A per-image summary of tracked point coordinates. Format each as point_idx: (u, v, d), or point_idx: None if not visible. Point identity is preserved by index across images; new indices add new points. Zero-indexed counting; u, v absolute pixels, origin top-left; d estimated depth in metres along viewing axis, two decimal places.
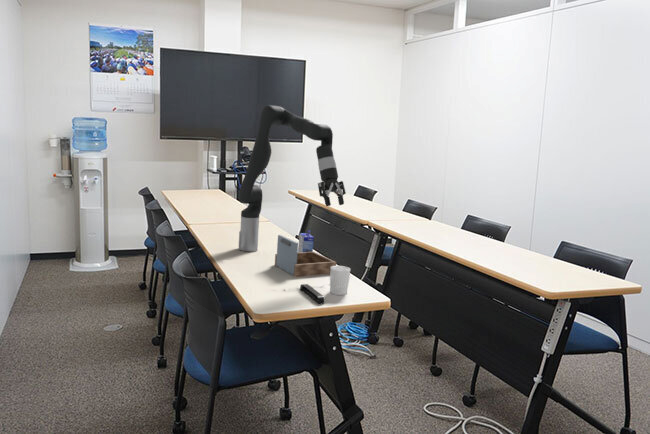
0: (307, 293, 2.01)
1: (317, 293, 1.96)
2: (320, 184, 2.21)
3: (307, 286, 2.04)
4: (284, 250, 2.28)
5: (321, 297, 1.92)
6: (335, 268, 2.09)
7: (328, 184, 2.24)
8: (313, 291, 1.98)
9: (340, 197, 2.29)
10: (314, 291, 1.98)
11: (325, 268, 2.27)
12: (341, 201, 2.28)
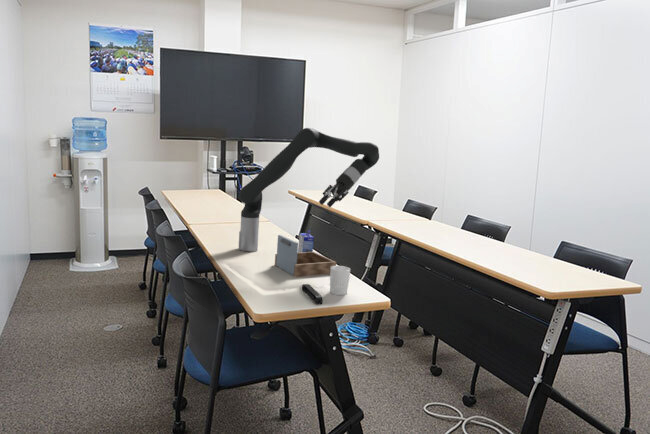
0: (307, 293, 2.01)
1: (316, 293, 1.95)
2: (346, 192, 2.30)
3: (308, 286, 2.04)
4: (284, 250, 2.28)
5: (319, 297, 1.92)
6: (335, 268, 2.09)
7: None
8: (313, 291, 1.98)
9: (325, 199, 2.37)
10: (314, 291, 1.98)
11: (325, 268, 2.27)
12: (323, 202, 2.36)
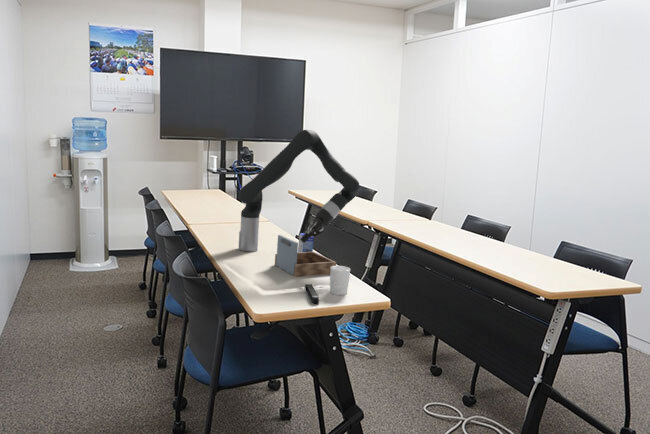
0: (307, 293, 2.01)
1: (314, 293, 1.95)
2: (321, 231, 2.28)
3: (310, 286, 2.04)
4: (284, 250, 2.28)
5: (316, 297, 1.91)
6: (335, 268, 2.09)
7: None
8: (312, 291, 1.98)
9: None
10: (313, 291, 1.98)
11: (325, 268, 2.27)
12: None
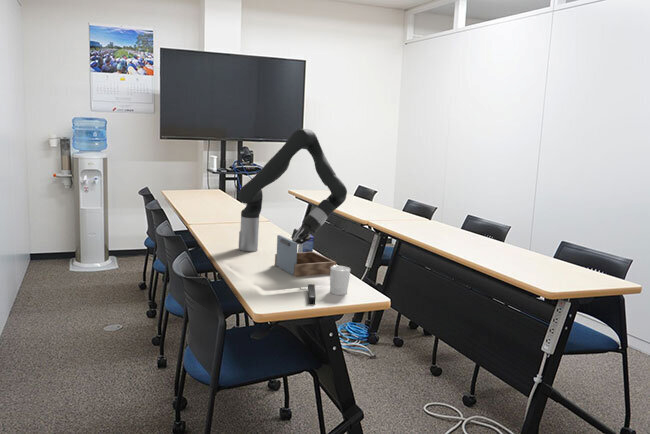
0: (308, 293, 2.01)
1: (312, 293, 1.95)
2: (308, 238, 2.25)
3: (311, 286, 2.04)
4: (284, 250, 2.28)
5: (312, 297, 1.91)
6: (335, 268, 2.09)
7: None
8: (311, 291, 1.98)
9: None
10: (312, 291, 1.97)
11: (325, 268, 2.27)
12: None
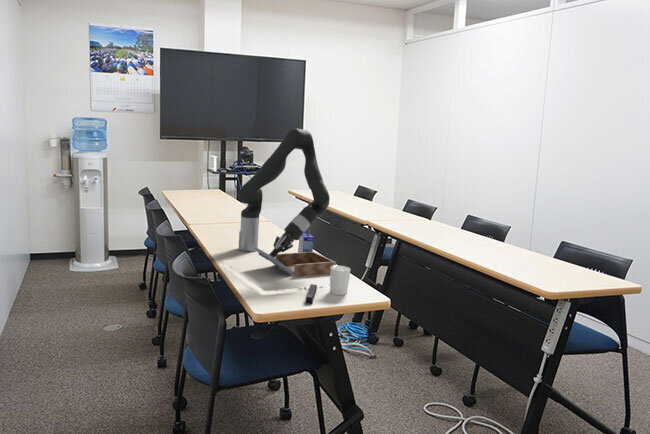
0: None
1: (311, 293, 1.95)
2: (289, 246, 2.21)
3: (313, 286, 2.04)
4: (269, 259, 2.25)
5: (309, 297, 1.91)
6: (335, 268, 2.09)
7: None
8: (310, 291, 1.98)
9: None
10: (311, 291, 1.97)
11: (325, 268, 2.27)
12: None
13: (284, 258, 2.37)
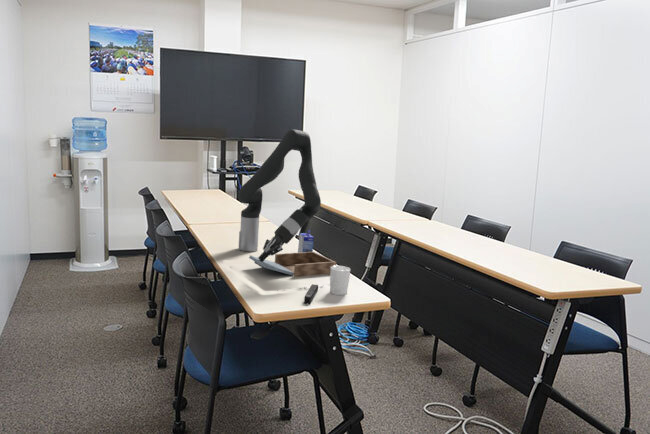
0: None
1: (310, 293, 1.95)
2: (279, 249, 2.18)
3: (313, 286, 2.04)
4: None
5: (308, 297, 1.91)
6: (335, 268, 2.09)
7: None
8: (310, 291, 1.98)
9: None
10: (310, 291, 1.97)
11: (325, 268, 2.27)
12: None
13: (284, 258, 2.37)
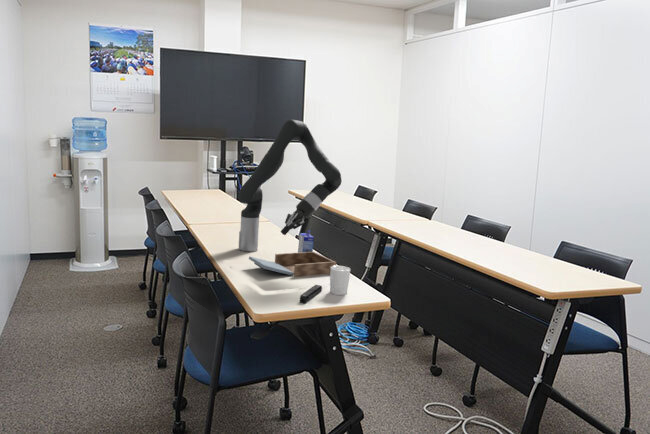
0: None
1: (307, 293, 1.95)
2: (301, 223, 2.22)
3: (316, 286, 2.04)
4: None
5: (303, 296, 1.92)
6: (335, 268, 2.09)
7: None
8: (308, 291, 1.98)
9: None
10: (309, 291, 1.97)
11: (325, 268, 2.27)
12: None
13: (284, 258, 2.37)
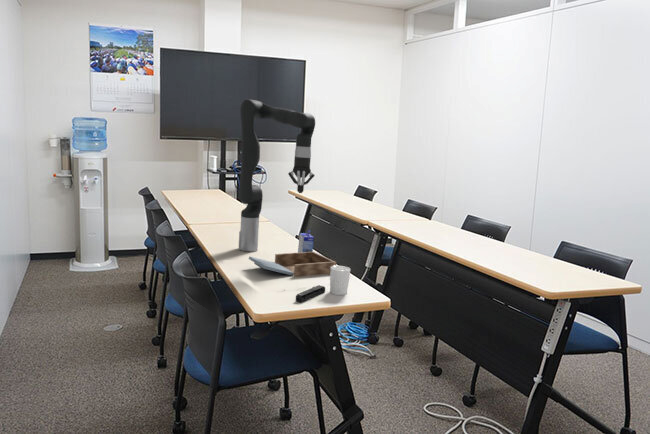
0: None
1: (305, 292, 1.95)
2: None
3: (318, 287, 2.04)
4: None
5: (299, 295, 1.92)
6: (335, 268, 2.09)
7: None
8: (307, 290, 1.98)
9: None
10: (308, 291, 1.98)
11: (325, 268, 2.27)
12: None
13: (284, 258, 2.37)
